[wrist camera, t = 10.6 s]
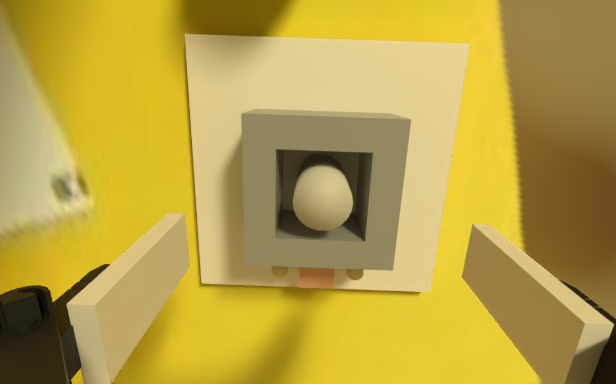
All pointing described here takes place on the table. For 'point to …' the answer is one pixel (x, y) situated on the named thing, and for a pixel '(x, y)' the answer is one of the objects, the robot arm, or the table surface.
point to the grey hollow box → (369, 201)
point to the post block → (321, 164)
